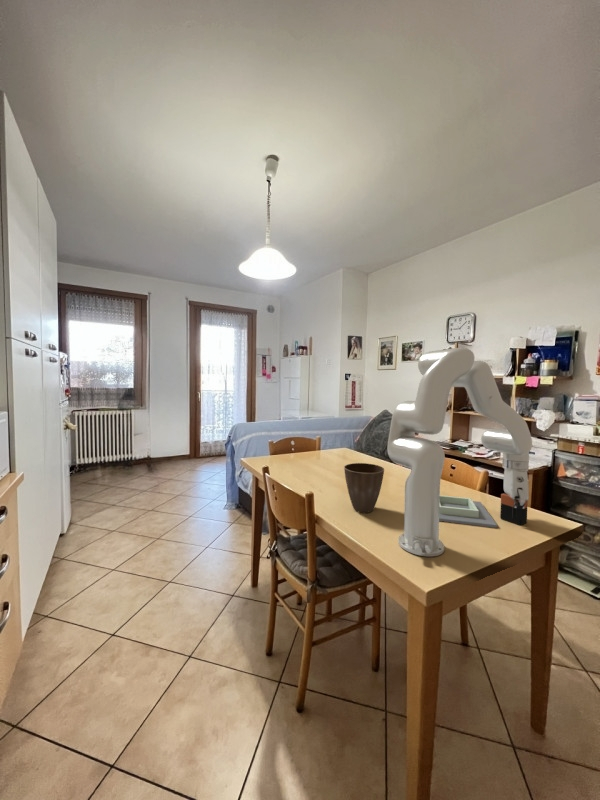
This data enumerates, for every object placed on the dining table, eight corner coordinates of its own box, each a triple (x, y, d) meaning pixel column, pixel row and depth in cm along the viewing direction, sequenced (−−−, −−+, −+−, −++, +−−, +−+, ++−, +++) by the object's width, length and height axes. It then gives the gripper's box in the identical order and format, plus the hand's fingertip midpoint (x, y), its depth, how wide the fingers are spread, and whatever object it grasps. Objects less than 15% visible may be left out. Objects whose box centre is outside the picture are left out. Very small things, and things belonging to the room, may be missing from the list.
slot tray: (497, 528, 104) (497, 517, 104) (425, 519, 111) (426, 509, 111) (480, 504, 125) (480, 495, 125) (421, 498, 132) (421, 490, 132)
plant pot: (347, 499, 130) (348, 461, 129) (385, 504, 125) (385, 464, 124) (340, 513, 116) (340, 470, 115) (381, 519, 111) (382, 474, 110)
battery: (506, 516, 114) (507, 489, 114) (527, 523, 108) (528, 494, 108) (499, 518, 112) (500, 491, 111) (521, 526, 106) (522, 496, 106)
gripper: (538, 471, 100) (536, 526, 100) (518, 459, 116) (517, 506, 117) (511, 469, 102) (509, 523, 103) (495, 458, 118) (494, 504, 119)
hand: (513, 514), depth 110 cm, fingers closed on battery, 7 cm apart
